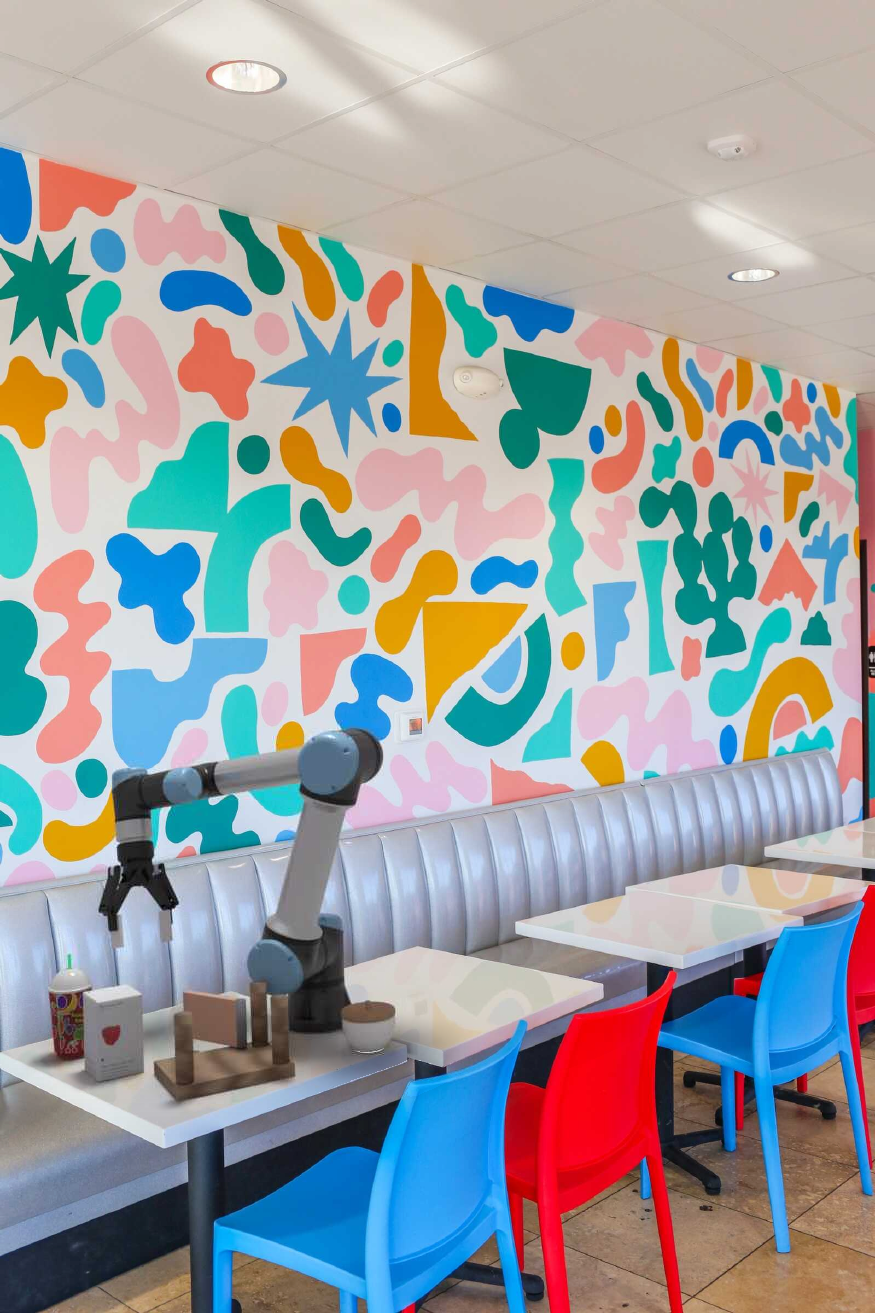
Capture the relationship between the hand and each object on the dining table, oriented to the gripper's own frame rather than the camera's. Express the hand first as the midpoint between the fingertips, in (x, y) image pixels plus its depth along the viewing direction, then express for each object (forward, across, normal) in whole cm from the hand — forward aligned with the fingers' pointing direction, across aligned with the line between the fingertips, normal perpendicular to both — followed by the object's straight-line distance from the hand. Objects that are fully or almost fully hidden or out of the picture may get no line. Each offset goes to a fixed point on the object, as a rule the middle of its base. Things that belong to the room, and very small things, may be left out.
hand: (143, 945), depth 240 cm
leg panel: (+20, -1, +17) cm, 26 cm away
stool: (+26, +6, +25) cm, 36 cm away
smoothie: (+20, +11, -10) cm, 25 cm away
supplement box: (+23, +14, +4) cm, 27 cm away
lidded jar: (+26, -18, +41) cm, 52 cm away
